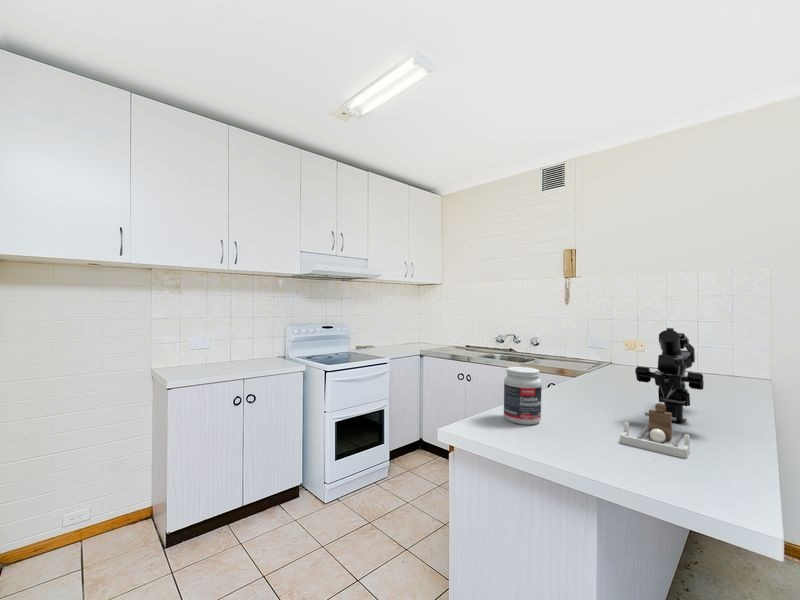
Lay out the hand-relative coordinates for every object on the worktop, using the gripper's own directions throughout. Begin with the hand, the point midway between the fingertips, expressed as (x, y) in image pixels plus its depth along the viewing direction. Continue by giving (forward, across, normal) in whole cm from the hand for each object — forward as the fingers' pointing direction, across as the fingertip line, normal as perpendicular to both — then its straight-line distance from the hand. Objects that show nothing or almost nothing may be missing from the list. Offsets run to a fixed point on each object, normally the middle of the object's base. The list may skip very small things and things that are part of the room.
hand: (665, 397), depth 125 cm
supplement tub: (+23, -40, -6) cm, 47 cm away
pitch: (+17, 0, 0) cm, 17 cm away
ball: (+16, 0, -3) cm, 16 cm away
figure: (+14, 0, +1) cm, 14 cm away
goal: (+23, 0, -6) cm, 23 cm away
